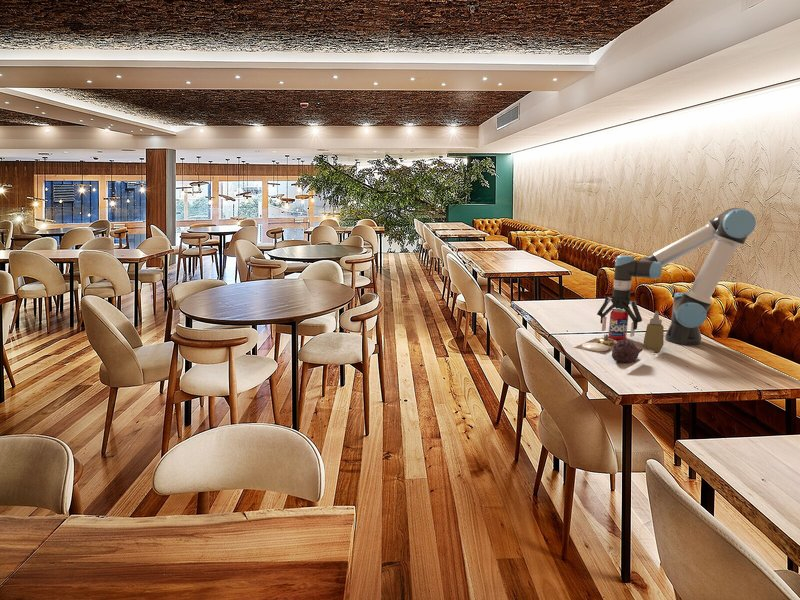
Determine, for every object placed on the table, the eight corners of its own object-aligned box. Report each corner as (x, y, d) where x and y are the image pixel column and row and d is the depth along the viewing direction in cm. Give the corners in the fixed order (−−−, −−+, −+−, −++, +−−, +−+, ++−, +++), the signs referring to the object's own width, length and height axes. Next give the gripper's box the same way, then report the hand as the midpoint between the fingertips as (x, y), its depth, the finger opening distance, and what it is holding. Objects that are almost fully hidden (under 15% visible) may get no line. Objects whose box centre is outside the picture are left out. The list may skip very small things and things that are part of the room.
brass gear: (617, 343, 243) (617, 334, 243) (610, 346, 238) (610, 337, 237) (600, 339, 249) (601, 331, 248) (593, 343, 243) (594, 334, 242)
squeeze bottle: (664, 354, 232) (669, 314, 229) (645, 353, 234) (649, 313, 230) (659, 349, 240) (664, 310, 236) (640, 348, 242) (644, 309, 238)
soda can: (622, 338, 256) (625, 308, 253) (628, 343, 249) (631, 312, 246) (606, 338, 257) (608, 307, 254) (610, 342, 249) (613, 311, 246)
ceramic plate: (612, 347, 236) (612, 346, 236) (602, 353, 228) (602, 351, 228) (588, 342, 244) (589, 341, 243) (577, 347, 236) (577, 346, 236)
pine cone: (622, 371, 210) (624, 346, 208) (600, 364, 218) (602, 341, 216) (646, 362, 221) (649, 339, 219) (624, 356, 228) (626, 334, 226)
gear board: (624, 347, 242) (625, 344, 242) (604, 357, 227) (604, 354, 227) (595, 341, 252) (595, 338, 252) (573, 350, 236) (573, 347, 236)
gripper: (592, 286, 254) (588, 329, 258) (646, 293, 237) (641, 339, 241) (599, 284, 259) (595, 326, 263) (652, 291, 242) (647, 336, 246)
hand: (617, 333), depth 252 cm, fingers open, 13 cm apart
